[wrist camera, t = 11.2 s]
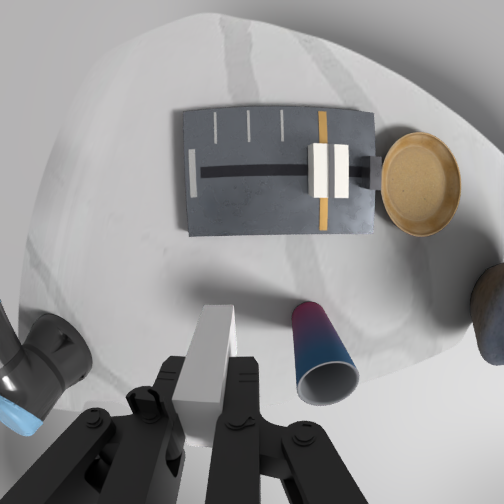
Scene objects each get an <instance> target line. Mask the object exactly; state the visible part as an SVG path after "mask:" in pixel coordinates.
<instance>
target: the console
mask: <svg viewBox="0 0 504 504" xmlns="http://www.w3.org/2000/svg"><path fill="white" fill-rule="evenodd" d="M183 130H184V164H185V185H186V203H187V217H188V231H189V237H195V236H232V235H282V234H373V227H374V210H375V190H381V182H382V157H378V156H375V125H374V113H370V112H362V111H353V110H344V109H332V108H317V107H291V106H257V107H232V108H217V109H205V110H195V111H186V112H183ZM313 143H322V144H341V145H348V150H349V195H348V198H314V197H312V196H310V195H308V145H310V144H313Z"/></svg>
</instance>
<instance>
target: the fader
mask: <svg viewBox="0 0 504 504" xmlns="http://www.w3.org/2000/svg"><path fill="white" fill-rule="evenodd" d="M308 195H310V196H312V197H314V198H348V195H349V150H348V145H341V144H322V143H313V144H310V145H308Z"/></svg>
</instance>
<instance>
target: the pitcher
mask: <svg viewBox="0 0 504 504" xmlns="http://www.w3.org/2000/svg"><path fill="white" fill-rule="evenodd" d="M470 313H471V317H472V321H473V326H474V331H475V334H476V339H477V345H478V348H479V351H480V354H481V356H482V357H483V358H484V360H485V361H487V362H488V363H490V364H492V365H496V366H497V365H504V263H501V264H498V265H496V266H493V267H491V268H489V269H487V270H486V271H485V272H484V274H483V275H482V276H481V277H480V279H479V280H478V281H477V283H476V285H475V287H474V290H473V292H472V295H471V300H470Z"/></svg>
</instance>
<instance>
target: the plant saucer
mask: <svg viewBox="0 0 504 504" xmlns="http://www.w3.org/2000/svg"><path fill="white" fill-rule="evenodd" d="M381 195H382V200H383V203H384V206H385V209H386V211H387V213H388V215H389V216H390V218H391V220H392V221H393V222H394V223H395V224H396V226H397V227H399V228H400V229H401V230H402V231H404V232H406V233H408V234H410V235H413V236H417V237H425V236H430V235H433V234H436V233H437V232H439V231H441V230H442V229H443V228H444V227H445V226H446V225H447V224H448V223H449V222H450V221H451V219H452V218H453V216H454V214H455V212H456V210H457V208H458V204H459V200H460V196H461V177H460V171H459V167H458V164H457V162H456V159H455V157H454V155H453V154H452V152H451V151H450V149H449V148H448V147H447V145H446V144H445V143H444V142H442V141H441V140H440V139H439V138H437V137H435V136H433V135H431V134H428V133H424V132H414V133H409V134H407V135H405V136H403V137H401V138H400V139H398V140H397V141H396V142H395V143H394V144H393V145H392V146H391V148H390V149H389V151H388V153H387V155H386V157H385V159H384V162H383V165H382V182H381Z"/></svg>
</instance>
